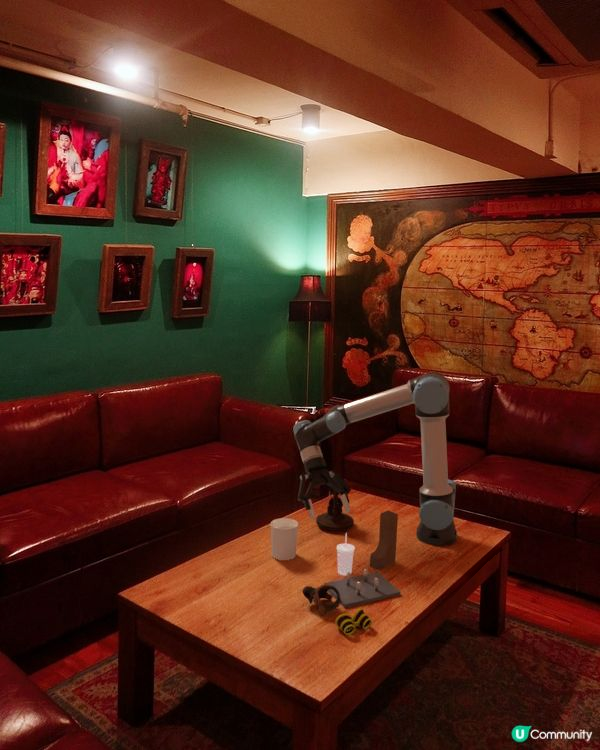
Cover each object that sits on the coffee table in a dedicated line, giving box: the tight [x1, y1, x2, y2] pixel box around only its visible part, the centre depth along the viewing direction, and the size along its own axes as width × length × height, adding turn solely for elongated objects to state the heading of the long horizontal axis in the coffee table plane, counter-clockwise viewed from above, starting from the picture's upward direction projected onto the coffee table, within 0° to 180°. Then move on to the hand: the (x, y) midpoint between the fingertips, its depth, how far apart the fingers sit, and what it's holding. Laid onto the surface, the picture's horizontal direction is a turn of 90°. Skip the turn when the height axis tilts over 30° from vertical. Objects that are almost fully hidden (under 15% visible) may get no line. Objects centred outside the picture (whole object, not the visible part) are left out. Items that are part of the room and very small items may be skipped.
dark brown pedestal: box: [315, 474, 355, 533], centre depth 256 cm, size 15×15×20 cm
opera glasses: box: [335, 607, 373, 636], centre depth 187 cm, size 10×5×5 cm, turn 122°
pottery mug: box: [302, 584, 341, 616], centre depth 197 cm, size 12×10×8 cm
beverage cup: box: [336, 532, 356, 577], centre depth 219 cm, size 6×6×14 cm
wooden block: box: [369, 510, 399, 571], centre depth 225 cm, size 9×4×18 cm, turn 135°
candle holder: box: [270, 517, 299, 561], centre depth 230 cm, size 10×10×12 cm
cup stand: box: [323, 568, 402, 609], centre depth 208 cm, size 20×14×5 cm
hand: (331, 515), depth 226 cm, fingers open, 13 cm apart
